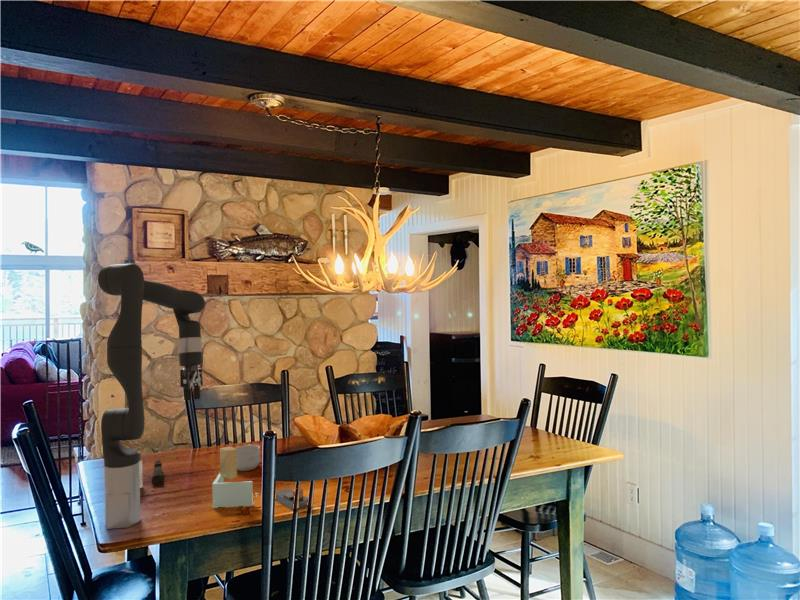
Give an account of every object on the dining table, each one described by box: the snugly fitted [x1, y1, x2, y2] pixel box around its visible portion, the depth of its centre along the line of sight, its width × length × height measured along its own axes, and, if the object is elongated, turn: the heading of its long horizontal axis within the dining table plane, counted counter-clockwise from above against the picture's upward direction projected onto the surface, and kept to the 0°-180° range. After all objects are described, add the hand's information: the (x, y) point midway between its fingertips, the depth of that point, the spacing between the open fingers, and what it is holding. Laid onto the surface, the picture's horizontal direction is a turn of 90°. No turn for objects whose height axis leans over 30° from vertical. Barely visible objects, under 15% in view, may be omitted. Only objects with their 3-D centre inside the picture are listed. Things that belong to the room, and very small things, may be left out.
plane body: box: [275, 487, 308, 511], centre depth 183 cm, size 14×6×5 cm, turn 39°
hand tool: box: [151, 460, 165, 486], centre depth 210 cm, size 19×4×5 cm, turn 20°
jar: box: [136, 450, 143, 489], centre depth 199 cm, size 9×8×12 cm
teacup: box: [234, 443, 261, 472], centre depth 221 cm, size 14×11×8 cm
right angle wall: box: [211, 472, 258, 509], centre depth 185 cm, size 12×12×8 cm
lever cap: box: [219, 446, 238, 480], centre depth 186 cm, size 5×4×9 cm
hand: (192, 399), depth 194 cm, fingers open, 8 cm apart
